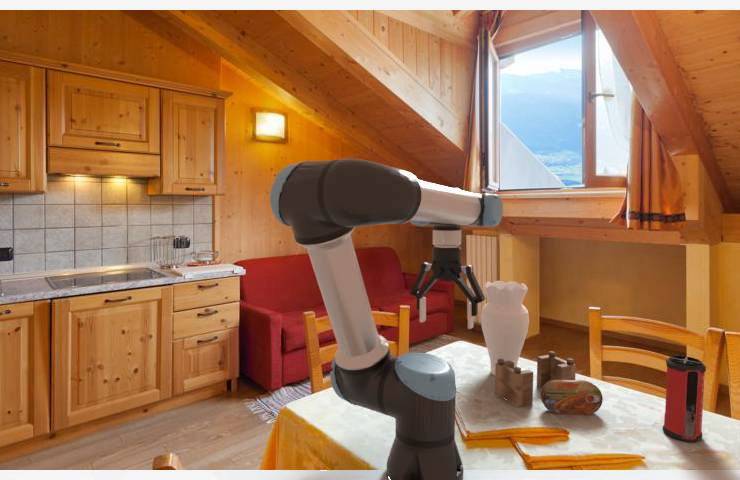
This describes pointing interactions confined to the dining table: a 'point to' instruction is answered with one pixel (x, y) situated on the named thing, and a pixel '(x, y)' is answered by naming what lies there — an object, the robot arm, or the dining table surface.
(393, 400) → the robot arm
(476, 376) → the dining table surface
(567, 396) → the tin
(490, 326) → the vase
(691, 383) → the speaker
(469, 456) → the dining table surface
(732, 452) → the dining table surface
